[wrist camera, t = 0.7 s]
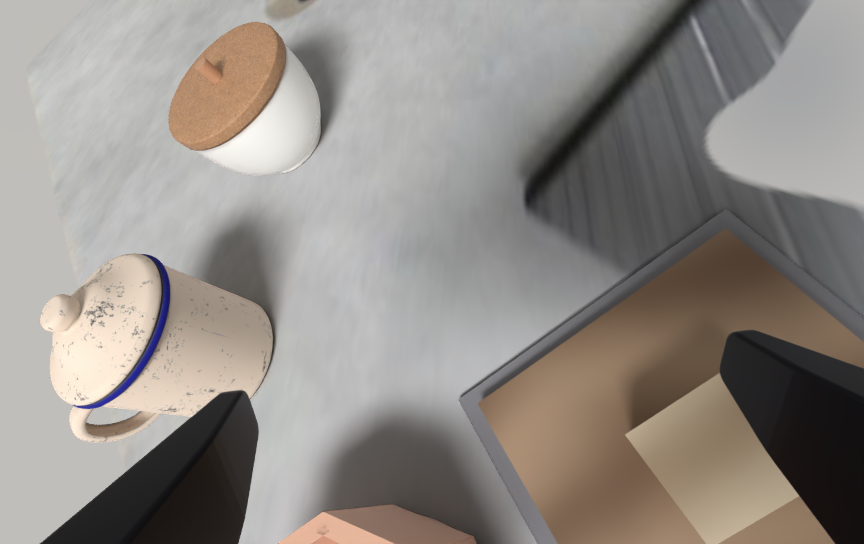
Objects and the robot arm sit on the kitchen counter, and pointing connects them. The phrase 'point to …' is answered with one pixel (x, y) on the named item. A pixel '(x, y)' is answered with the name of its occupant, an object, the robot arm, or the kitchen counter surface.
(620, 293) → the mat
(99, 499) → the robot arm
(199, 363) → the teacup with lid
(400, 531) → the bowl
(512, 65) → the kitchen counter surface
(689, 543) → the cover
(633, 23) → the kitchen counter surface
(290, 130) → the lidded jar
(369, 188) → the kitchen counter surface
